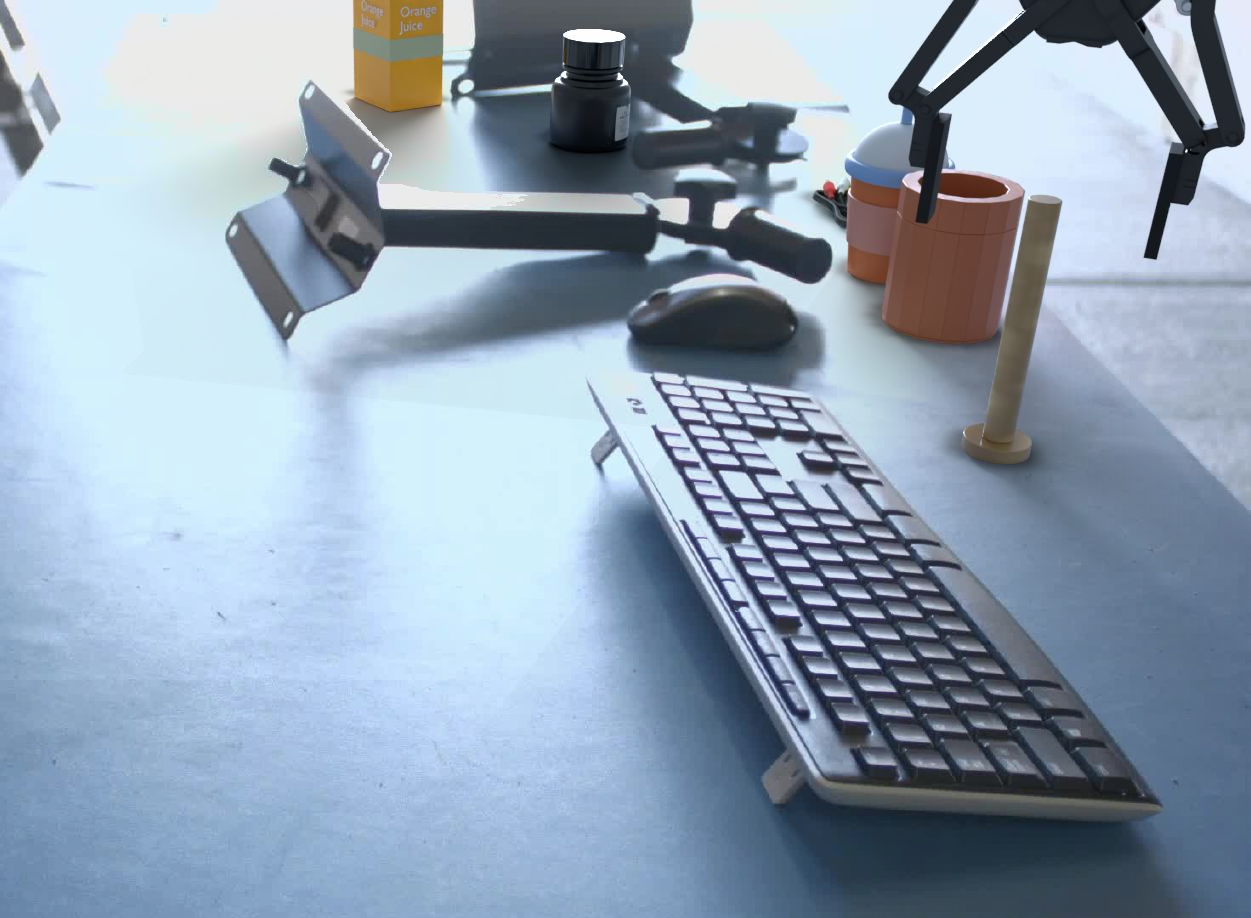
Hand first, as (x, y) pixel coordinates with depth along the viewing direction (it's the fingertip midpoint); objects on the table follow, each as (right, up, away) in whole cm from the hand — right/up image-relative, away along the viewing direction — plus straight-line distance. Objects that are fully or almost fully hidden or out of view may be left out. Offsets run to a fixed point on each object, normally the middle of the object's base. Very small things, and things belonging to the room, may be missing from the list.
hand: (1034, 235), depth 96 cm
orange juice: (-42, +30, +93) cm, 107 cm away
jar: (+3, -4, +27) cm, 28 cm away
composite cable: (+2, +10, +55) cm, 56 cm away
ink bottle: (-21, +22, +77) cm, 82 cm away
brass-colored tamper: (0, -14, +7) cm, 16 cm away
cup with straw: (+2, +2, +38) cm, 38 cm away
